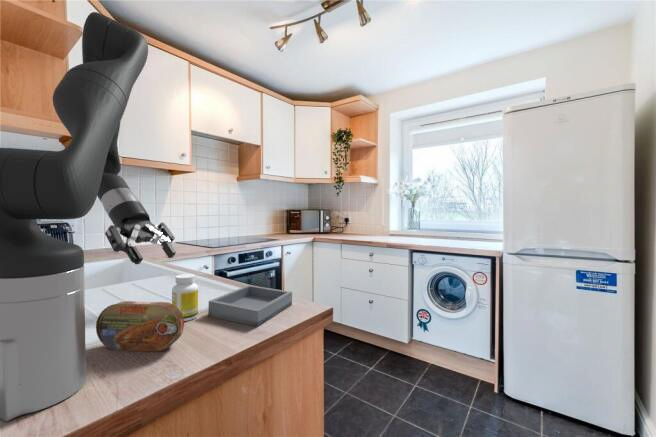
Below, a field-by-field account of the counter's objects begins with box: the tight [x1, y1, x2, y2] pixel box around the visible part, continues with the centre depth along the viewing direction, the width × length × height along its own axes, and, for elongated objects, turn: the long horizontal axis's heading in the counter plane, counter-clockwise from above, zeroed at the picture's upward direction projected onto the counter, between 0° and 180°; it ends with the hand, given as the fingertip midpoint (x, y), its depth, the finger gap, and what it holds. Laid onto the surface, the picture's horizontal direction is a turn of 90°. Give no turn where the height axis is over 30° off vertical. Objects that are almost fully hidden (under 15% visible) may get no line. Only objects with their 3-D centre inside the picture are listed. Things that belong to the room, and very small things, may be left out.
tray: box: [207, 284, 293, 328], centre depth 71 cm, size 15×14×4 cm
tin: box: [95, 300, 185, 353], centre depth 52 cm, size 15×3×8 cm, turn 89°
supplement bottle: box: [171, 273, 199, 322], centre depth 66 cm, size 5×5×10 cm
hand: (157, 258), depth 69 cm, fingers open, 8 cm apart
